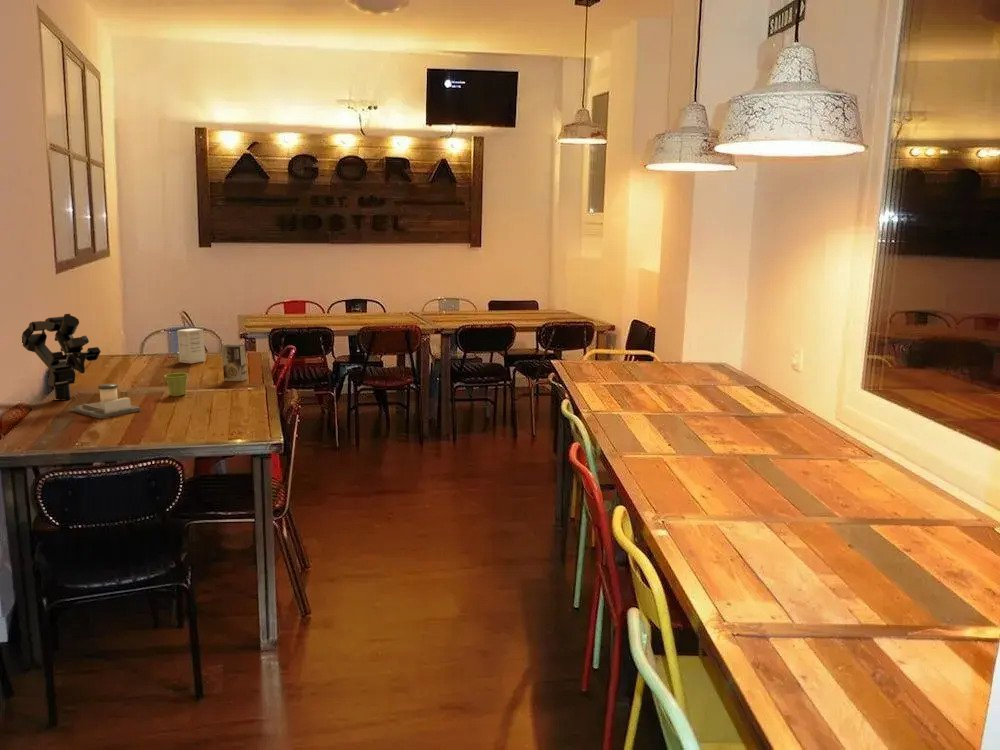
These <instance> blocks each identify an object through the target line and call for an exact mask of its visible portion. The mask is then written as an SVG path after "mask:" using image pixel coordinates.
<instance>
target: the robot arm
mask: <svg viewBox="0 0 1000 750" xmlns="http://www.w3.org/2000/svg"><path fill="white" fill-rule="evenodd" d="M79 325H80V320H79V318H77V317H76V316H73V315H71V313H65V314H64V315H63V316H62V315H61V316H53V317H47V318H45V319H44V320H37V321H36V320H35V321H31V322H29V324H28V327H27V328H26V329H25V330H23V332H22V334H21V338H22V343H23V345H22V347H23V348H25V349H26V350H27V351H29V352H32V353H34V354H36V356H37V357H38V358H39V359H40V360H41V361H42V362H43V363H44V365H45V366H46V367H47V368H48V369H49V370H50V372H49V376H48V378H47V379H46V381H47V384H48V386H50V387H53V389H54V390H53V391H54V398H56V399H70V398H71V399H73V398H74V395H71V389H70V388H71V387H70V386H71V384H75V382H76V371H77V372H79V373H80V374H85V371H86V369H85V361H88V362H91V361H97V360H98V357H99V356H100V354H101V349H100V348H99V347H98V346H95V347H88V348H87V350H86V351H83V349H84V346H86V345H88V343H89V338H88V337H87V335H81V336H80V337H74V336H73V335H74V334H75V333H76V331H77V329H78V327H79ZM45 330H46V331H47V332H49V333H53V332H56V333H55V334H54V341H55V342H57V343H58V344H59V346H60V351H55V352H52V351H51V350H50V349H49V347H48V346H47V345H46V342H47V341H46V340H47V338H48V336H47V334H46V332H45ZM39 331H41V333H34V332H39ZM75 370H76V371H75ZM72 397H73V398H72ZM71 399H70V400H71Z"/></svg>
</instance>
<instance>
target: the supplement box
mask: <svg viewBox="0 0 1000 750" xmlns="http://www.w3.org/2000/svg"><path fill="white" fill-rule="evenodd" d="M176 333H177V342H178V343H177V345H178V355H179V363H185V364H195V363H202V362H206V361H207V360H206V350H205V337H204V329H203V328H192V327H191V328H184V329H178V330H177V332H176Z"/></svg>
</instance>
